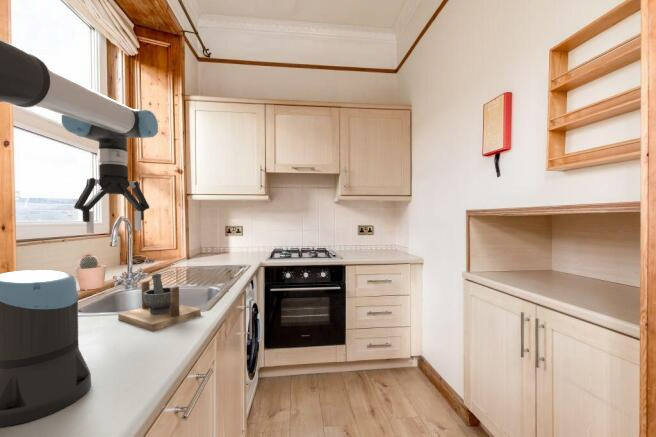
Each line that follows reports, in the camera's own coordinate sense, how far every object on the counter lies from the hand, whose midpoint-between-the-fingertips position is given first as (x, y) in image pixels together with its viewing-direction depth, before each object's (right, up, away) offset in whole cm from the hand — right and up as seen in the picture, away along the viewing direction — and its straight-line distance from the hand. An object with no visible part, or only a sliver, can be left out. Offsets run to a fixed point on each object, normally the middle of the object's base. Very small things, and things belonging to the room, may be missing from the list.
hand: (115, 231), depth 97 cm
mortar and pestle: (+12, -27, +4) cm, 29 cm away
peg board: (+12, -29, +4) cm, 31 cm away
